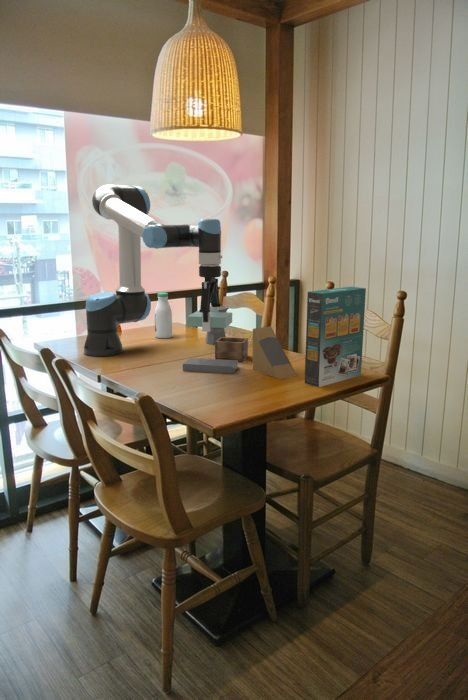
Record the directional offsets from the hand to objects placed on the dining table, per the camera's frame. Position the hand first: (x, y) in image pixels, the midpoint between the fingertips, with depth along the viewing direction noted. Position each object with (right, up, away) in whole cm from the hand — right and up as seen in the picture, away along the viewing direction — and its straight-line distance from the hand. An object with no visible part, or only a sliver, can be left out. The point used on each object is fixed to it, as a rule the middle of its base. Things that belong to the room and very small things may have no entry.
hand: (210, 328), depth 198 cm
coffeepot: (0, -5, +46) cm, 46 cm away
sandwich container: (+23, -16, 0) cm, 27 cm away
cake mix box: (+42, -18, -9) cm, 46 cm away
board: (0, -14, +3) cm, 15 cm away
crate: (+7, -11, +20) cm, 24 cm away
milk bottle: (-24, -2, +58) cm, 62 cm away
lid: (0, +1, 0) cm, 1 cm away
